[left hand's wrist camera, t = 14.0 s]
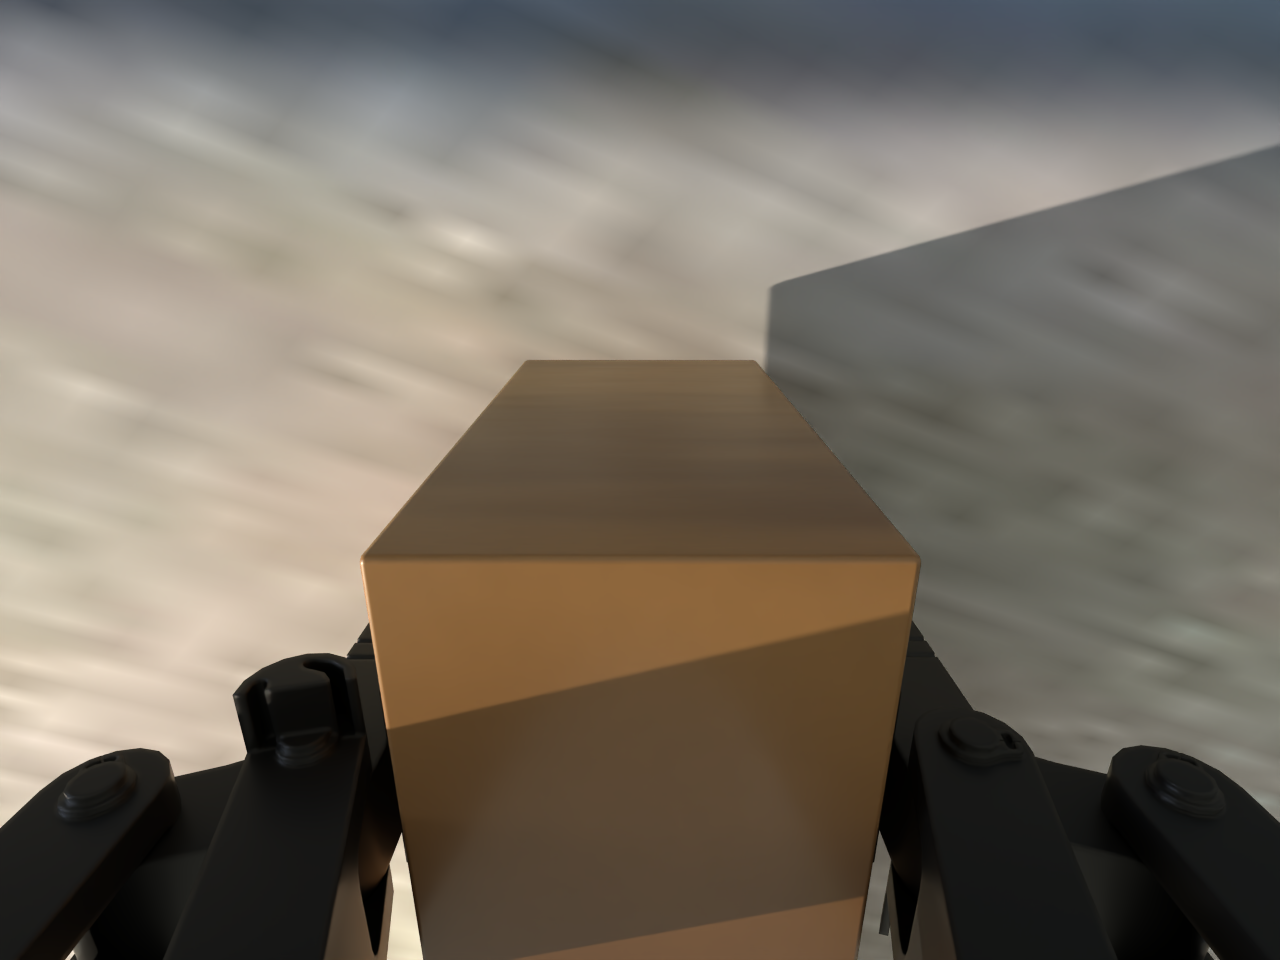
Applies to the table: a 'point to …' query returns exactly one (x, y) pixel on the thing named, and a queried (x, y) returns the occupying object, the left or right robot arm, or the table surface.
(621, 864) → the bar
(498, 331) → the table surface
